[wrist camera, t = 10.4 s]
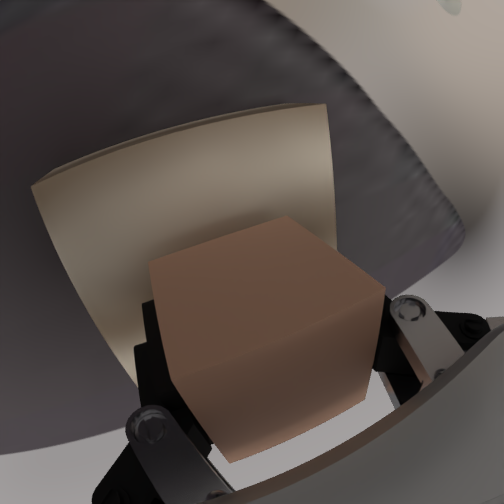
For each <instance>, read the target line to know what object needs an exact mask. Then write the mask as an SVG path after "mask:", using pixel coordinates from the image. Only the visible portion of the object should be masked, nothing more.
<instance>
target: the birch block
mask: <svg viewBox="0 0 504 504" xmlns="http://www.w3.org/2000/svg"><path fill="white" fill-rule="evenodd" d="M31 189H32V192H33V195H34V198H35V200H36V203H37V206H38V208H39V211H40V213H41V216H42V218H43V221H44V223H45V226H46V228H47V231H48V233H49V235H50V238H51V240H52V242H53V244H54V247H55V249H56V251H57V253H58V255H59V257H60V260H61V262H62V264H63V266H64V268H65V270H66V272H67V274H68V276H69V278H70V280H71V282H72V284H73V285H74V287H75V289H76V291H77V293H78V295H79V297H80V298H81V300H82V302H83V304H84V306H85V307H86V309H87V311H88V313H89V314H90V316H91V318H92V319H93V321H94V323H95V324H96V326H97V328H98V329H99V331H100V332H101V334H102V336H103V337H104V339H105V340H106V342H107V344H108V345H109V347H110V348H111V350H112V351H113V353H114V354H115V356H116V357H117V359H118V360H119V361H120V363H121V364H122V366H123V367H124V369H125V370H126V371H127V373H128V374H129V376H130V377H131V378H132V380H133V381H134V383H135V384H136V385H137V387H138V382H137V375H136V367H135V359H134V346H135V345H138V344H141V343H144V342H146V335H145V328H144V321H143V313H142V303H144V302H147V301H150V300H153V299H154V297H153V291H152V285H151V279H150V273H149V266H148V262H149V261H152V260H155V259H158V258H160V257H163V256H166V255H169V254H172V253H175V252H178V251H181V250H184V249H187V248H190V247H192V246H195V245H198V244H201V243H204V242H207V241H210V240H213V239H216V238H219V237H222V236H225V235H228V234H231V233H234V232H237V231H240V230H243V229H247V228H250V227H253V226H256V225H259V224H262V223H265V222H268V221H271V220H274V219H277V218H281V217H284V216H288V217H290V218H291V219H293V220H294V221H296V222H297V223H298V224H300V225H301V226H303V227H304V228H306V229H307V230H308V231H310V232H311V233H313V234H314V235H315V236H317V237H318V238H320V239H321V240H322V241H324V242H325V243H326V244H328V245H329V246H331V247H332V248H333V249H335V250H336V251H337V239H336V213H335V195H334V180H333V167H332V155H331V144H330V134H329V125H328V116H327V108H326V104H315V103H285V104H278V105H272V106H265V107H259V108H254V109H248V110H243V111H238V112H233V113H228V114H223V115H218V116H214V117H210V118H205V119H201V120H197V121H193V122H189V123H185V124H181V125H178V126H174V127H170V128H167V129H163V130H160V131H156V132H153V133H150V134H146V135H143V136H140V137H137V138H134V139H131V140H128V141H125V142H122V143H119V144H116V145H113V146H110V147H108V148H105V149H102V150H99V151H97V152H94V153H92V154H89V155H86V156H84V157H81V158H79V159H76V160H74V161H72V162H69V163H67V164H64V165H62V166H60V167H58V168H55V169H53V170H52V171H51V172H49V173H48V174H46V175H45V176H44V177H42V178H41V179H40V180H38V181H37V182H36V183H35V184H33V185H32V186H31Z"/></svg>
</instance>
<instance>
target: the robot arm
mask: <svg viewBox="0 0 504 504" xmlns="http://www.w3.org/2000/svg"><path fill="white" fill-rule="evenodd" d="M142 313H143V321H144V328H145V335H146V342H144V343H141V344H138V345H135V346H134V359H135V367H136V375H137V382H138V389H139V396H140V402H141V408H139V409H137V410H136V411H135V412H133V413H132V415H131V416H130V417H129V418H128V421H127V423H126V431H125V432H126V436H127V438H128V441H129V443H128V445H127V446H126V447H125V449H124V450H123V452H122V453H121V454H120V456H119V457H118V458H117V460H116V461H115V463H114V464H113V465H112V467H111V468H110V469H109V471H108V472H107V474H106V475H105V476H104V478H103V479H102V480H101V482H100V483H99V485H98V486H97V487H96V489H95V491H94V493H93V495H92V504H504V317H489V318H486V320H485V319H483V318H482V317H481V316H478V315H476V314H470V313H455V312H454V313H453V312H440V311H433V309H432V308H431V307H430V306H429V304H428V303H427V302H426V301H425V300H424V299H422V298H420V297H418V296H414V295H402V296H399V297H397V298H395V299H394V300H393V301H392V300H391V299H389V298H388V297H387V296H386V295H385V297H384V304H383V311H382V317H381V324H380V330H379V336H378V341H377V347H376V352H375V357H374V362H373V366H372V369H374V370H375V371H376V372H378V373H379V376H380V378H381V380H382V382H383V384H384V386H385V388H386V391H387V393H388V395H389V397H390V399H391V402H392V404H393V406H394V408H395V410H394V411H393V412H391V413H390V414H388V415H387V416H385V417H384V418H382V419H381V420H379V421H378V422H376V423H375V424H373V425H372V426H370V427H369V428H367V429H365V430H364V431H362V432H361V433H359V434H357V435H356V436H354V437H352V438H351V439H349V440H347V441H345V442H344V443H342V444H340V445H338V446H336V447H335V448H333V449H331V450H329V451H327V452H325V453H323V454H322V455H320V456H318V457H316V458H314V459H312V460H310V461H308V462H306V463H304V464H301V465H300V466H297V467H295V468H293V469H291V470H289V471H286V472H284V473H282V474H279V475H277V476H275V477H272V478H270V479H267V480H265V481H262V482H260V483H257V484H255V485H252V486H249V487H247V488H244V489H241V490H238V491H235V490H234V489H233V487H232V486H231V485H230V484H229V483H228V482H227V481H226V480H225V478H224V477H223V476H222V475H221V473H220V472H219V471H218V470H217V469H216V467H214V465H213V464H212V463H211V461H210V460H209V459H208V458H207V457H208V455H209V453H210V451H211V450H212V447H211V444H214V443H213V441H212V440H211V439H210V437H209V436H208V434H207V433H206V432H205V430H204V429H203V427H202V426H201V425H200V423H199V422H198V420H197V419H196V417H195V416H194V415H193V413H192V412H191V410H190V409H189V407H188V406H187V404H186V403H185V401H184V400H183V398H182V397H181V395H180V393H179V392H178V390H177V389H176V387H175V386H174V384H173V382H172V381H171V377H170V373H169V369H168V365H167V361H166V357H165V352H164V348H163V343H162V338H161V334H160V329H159V324H158V319H157V313H156V308H155V303H154V299H153V300H150V301H147V302H144V303H142Z"/></svg>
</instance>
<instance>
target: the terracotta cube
mask: <svg viewBox="0 0 504 504" xmlns="http://www.w3.org/2000/svg"><path fill="white" fill-rule="evenodd" d="M148 266H149V273H150V279H151V285H152V291H153V297H154V303H155V308H156V313H157V319H158V324H159V329H160V334H161V338H162V343H163V348H164V352H165V357H166V361H167V365H168V369H169V373H170V377H171V381H172V382H173V384H174V386H175V387H176V389H177V390H178V392H179V393H180V395H181V397H182V398H183V400H184V401H185V403H186V404H187V406H188V407H189V409H190V410H191V412H192V413H193V415H194V416H195V417H196V419H197V420H198V422H199V423H200V425H201V426H202V427H203V429H204V430H205V432H206V433H207V434H208V436H209V437H210V439H211V440H212V441H213V443H214V444H215V445H216V446H217V448H218V449H219V451H220V452H221V453H222V454H223V456H224V457H225V458H226V460H227V461H228V462H229V463H233V462H235V461H238V460H241V459H244V458H246V457H249V456H252V455H254V454H257V453H259V452H262V451H264V450H267V449H269V448H271V447H274V446H276V445H278V444H281V443H283V442H285V441H287V440H289V439H292V438H294V437H296V436H298V435H300V434H302V433H304V432H306V431H308V430H310V429H312V428H314V427H316V426H318V425H320V424H322V423H324V422H326V421H328V420H330V419H331V418H333V417H335V416H337V415H339V414H341V413H342V412H344V411H346V410H348V409H349V408H351V407H353V406H355V405H356V404H358V403H360V402H361V401H363V400H364V399H365V396H366V393H367V388H368V384H369V380H370V376H371V371H372V366H373V362H374V357H375V352H376V347H377V341H378V336H379V330H380V324H381V317H382V311H383V304H384V297H385V289H386V288H385V287H384V286H383V285H381V284H380V283H379V282H377V281H376V280H375V279H373V278H372V277H371V276H370V275H368V274H367V273H366V272H364V271H363V270H362V269H360V268H359V267H358V266H356V265H355V264H354V263H352V262H351V261H350V260H348V259H347V258H346V257H344V256H343V255H341V254H340V253H339V252H337V251H336V250H335V249H333V248H332V247H331V246H329V245H328V244H326V243H325V242H324V241H322V240H321V239H320V238H318V237H317V236H315V235H314V234H313V233H311V232H310V231H308V230H307V229H306V228H304V227H303V226H301V225H300V224H298V223H297V222H296V221H294V220H293V219H291V218H290V217H288V216H284V217H281V218H277V219H274V220H271V221H268V222H265V223H262V224H259V225H256V226H253V227H250V228H247V229H243V230H240V231H237V232H234V233H231V234H228V235H225V236H222V237H219V238H216V239H213V240H210V241H207V242H204V243H201V244H198V245H195V246H192V247H190V248H187V249H184V250H181V251H178V252H175V253H172V254H169V255H166V256H163V257H160V258H158V259H155V260H152V261H149V262H148Z"/></svg>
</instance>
